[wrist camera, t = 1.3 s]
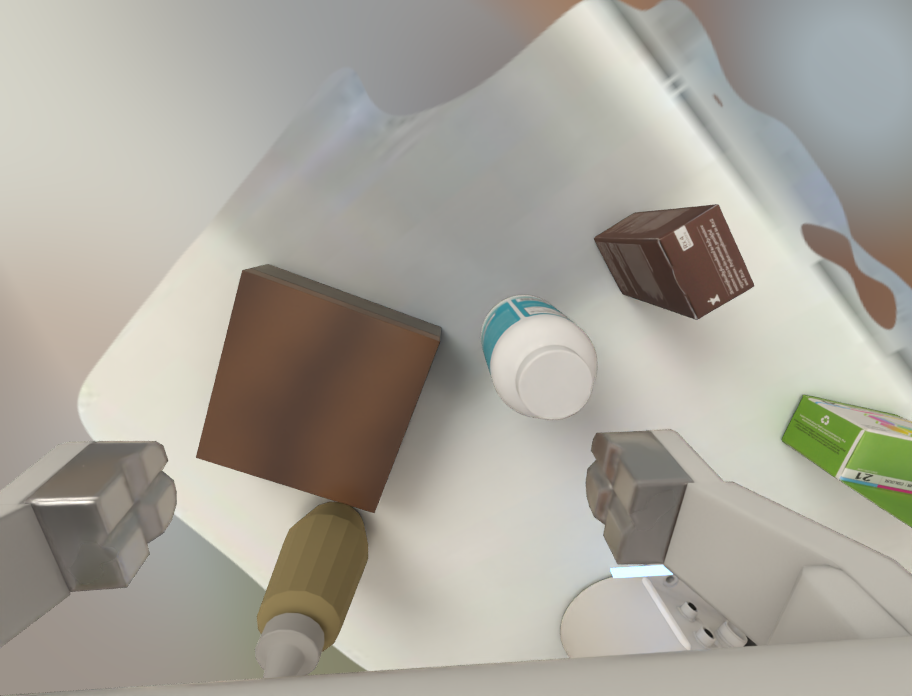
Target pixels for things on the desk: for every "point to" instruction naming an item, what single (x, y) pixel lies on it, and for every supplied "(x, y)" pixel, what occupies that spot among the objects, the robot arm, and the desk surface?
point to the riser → (315, 387)
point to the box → (676, 259)
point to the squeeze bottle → (310, 589)
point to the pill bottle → (538, 358)
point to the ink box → (858, 450)
